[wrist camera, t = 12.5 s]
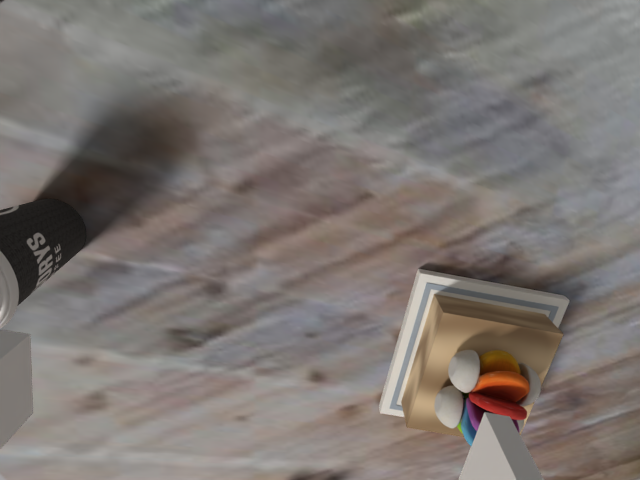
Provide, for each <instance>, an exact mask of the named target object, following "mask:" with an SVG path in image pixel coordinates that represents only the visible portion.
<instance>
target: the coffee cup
mask: <svg viewBox="0 0 640 480" xmlns="http://www.w3.org/2000/svg"><path fill="white" fill-rule="evenodd" d="M85 240H86V229H85V226H84V223H83V221H82V219H81V217H80V216H79V214H78V213H77V212H76V211H75V210H74V209H73V208H72V207H70V206H69V205H67V204H66V203H64V202H61V201H58V200H54V199H42V200H38V201H34V202H30V203H26V204H22V205H18V206H15V207H11V208H7V209H3V210H0V328H2V327H3V326H4V325H6V324H7V323H8V322H9V321H10V319H11V318H12V317H13V315H14V313H15V311H16V309H17V306H18V305H19V304H20V303H21V302H22V301H24V300H25V299H26V298H27V297H28V296H29V295H30V294H31V293H33V292H34V291H35V290H36V289H37V288H38V287H39V286H40V285H42V284H43V283H44V282H45V281H46V280H47V279H48V278H50V277H51V276H52V275H53V274H54V273H55V272H56V271H57V270H59V269H60V268H61V267H62V266H63V265H64V264H65V263H67V262H68V261H69V260H70V259H71V258H72V257H73V256H75V255H76V254H77V253H78V252H79V251H80V250H81V249H82V247H83V245H84V243H85Z"/></svg>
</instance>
